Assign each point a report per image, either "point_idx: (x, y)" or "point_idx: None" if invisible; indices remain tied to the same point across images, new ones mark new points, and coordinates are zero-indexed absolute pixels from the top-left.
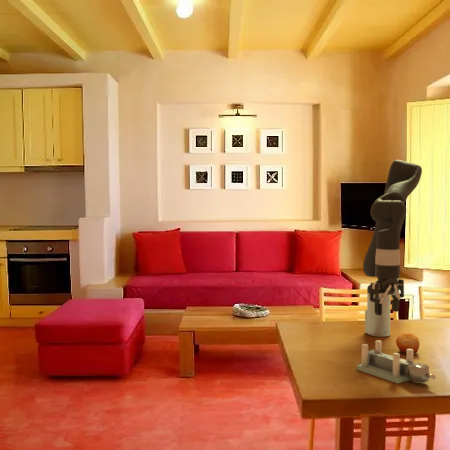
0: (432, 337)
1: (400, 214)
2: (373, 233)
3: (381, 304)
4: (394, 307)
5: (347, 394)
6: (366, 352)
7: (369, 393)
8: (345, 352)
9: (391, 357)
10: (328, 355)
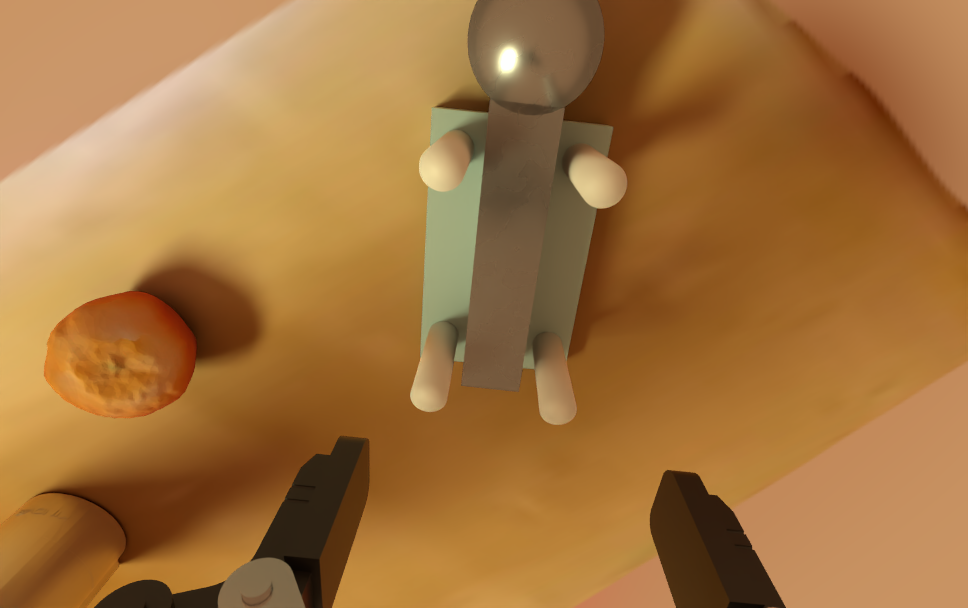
0: None
1: None
2: None
3: (744, 594)
4: (356, 502)
5: (896, 222)
6: (562, 372)
7: (826, 158)
8: (402, 493)
9: (505, 252)
10: (489, 513)
